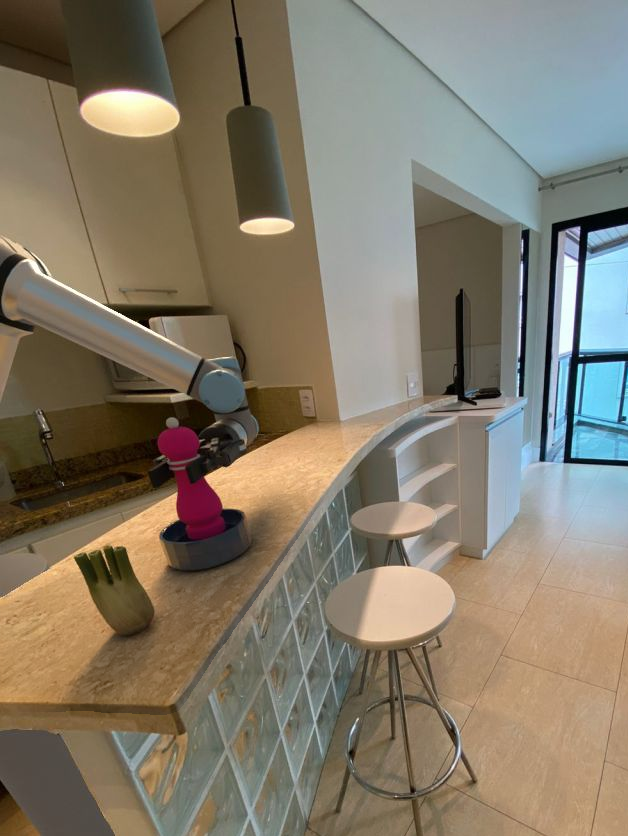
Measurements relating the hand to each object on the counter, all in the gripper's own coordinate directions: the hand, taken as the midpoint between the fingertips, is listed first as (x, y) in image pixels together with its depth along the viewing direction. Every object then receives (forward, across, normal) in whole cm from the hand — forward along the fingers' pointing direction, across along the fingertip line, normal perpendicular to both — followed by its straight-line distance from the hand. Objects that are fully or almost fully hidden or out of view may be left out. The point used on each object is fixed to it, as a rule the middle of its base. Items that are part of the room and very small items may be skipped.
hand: (171, 477), depth 62 cm
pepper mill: (-5, 0, -12) cm, 13 cm away
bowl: (-5, 0, -16) cm, 17 cm away
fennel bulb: (+15, +3, -16) cm, 22 cm away
